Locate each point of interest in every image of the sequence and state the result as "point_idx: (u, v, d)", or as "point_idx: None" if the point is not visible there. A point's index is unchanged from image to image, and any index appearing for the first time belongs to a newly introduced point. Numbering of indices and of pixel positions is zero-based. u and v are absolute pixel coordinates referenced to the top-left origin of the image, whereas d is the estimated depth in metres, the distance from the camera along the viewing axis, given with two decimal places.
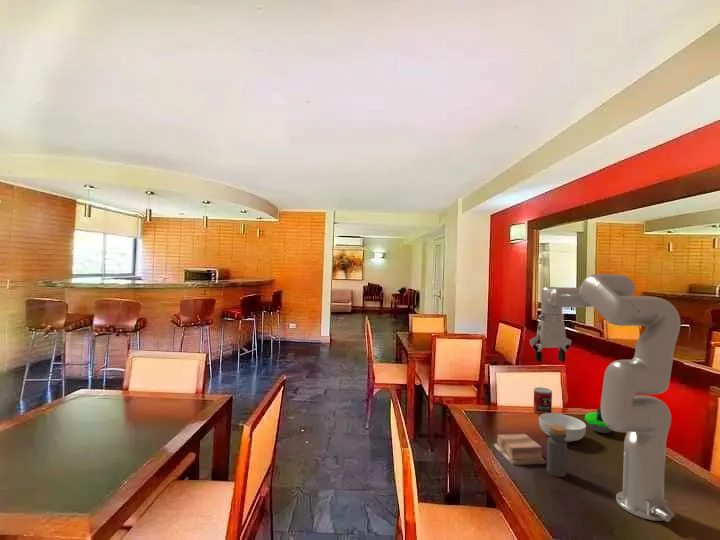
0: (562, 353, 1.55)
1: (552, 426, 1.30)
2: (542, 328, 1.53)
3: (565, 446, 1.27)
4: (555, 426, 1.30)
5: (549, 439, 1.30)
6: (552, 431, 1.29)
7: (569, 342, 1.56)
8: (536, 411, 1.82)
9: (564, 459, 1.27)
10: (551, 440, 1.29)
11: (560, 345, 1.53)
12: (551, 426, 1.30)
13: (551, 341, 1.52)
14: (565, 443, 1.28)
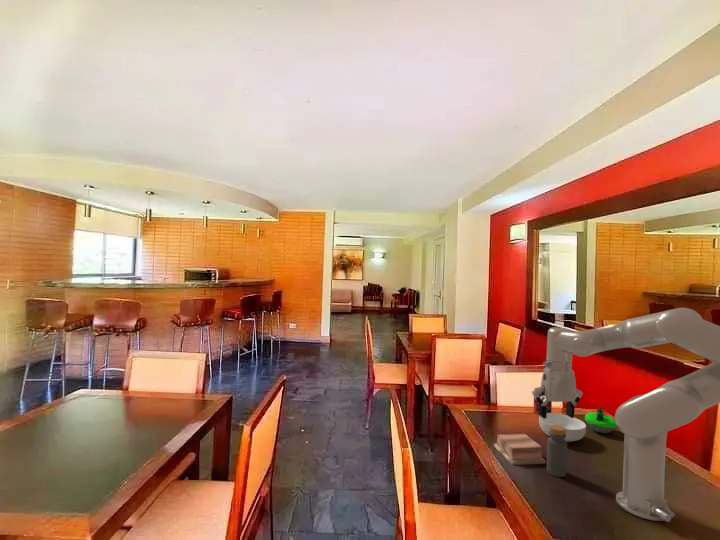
0: (571, 407, 1.29)
1: (552, 426, 1.30)
2: (548, 378, 1.27)
3: (565, 446, 1.27)
4: (555, 426, 1.30)
5: (549, 439, 1.30)
6: (552, 431, 1.29)
7: (579, 394, 1.30)
8: (536, 411, 1.82)
9: (564, 459, 1.27)
10: (551, 440, 1.29)
11: (569, 399, 1.27)
12: (551, 426, 1.30)
13: (558, 394, 1.27)
14: (565, 443, 1.28)
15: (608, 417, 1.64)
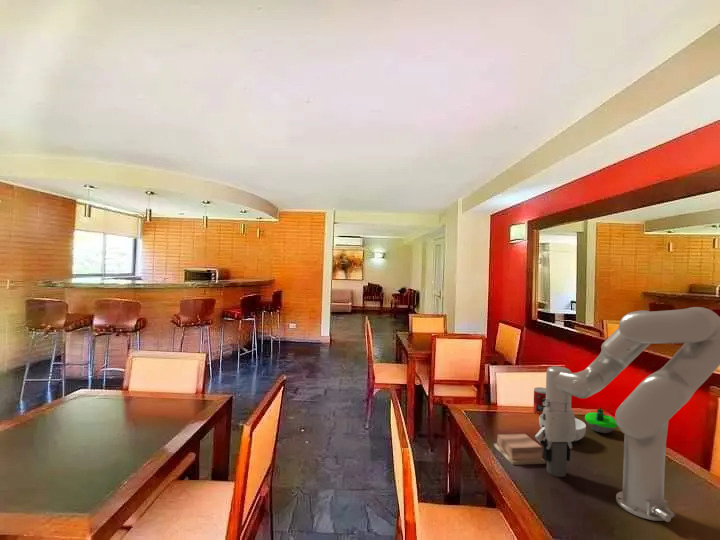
0: (567, 450, 1.29)
1: None
2: (547, 419, 1.27)
3: (565, 446, 1.27)
4: None
5: None
6: None
7: (576, 437, 1.30)
8: (536, 411, 1.82)
9: (564, 459, 1.27)
10: None
11: (569, 439, 1.27)
12: None
13: (558, 435, 1.27)
14: (565, 443, 1.28)
15: (608, 417, 1.64)
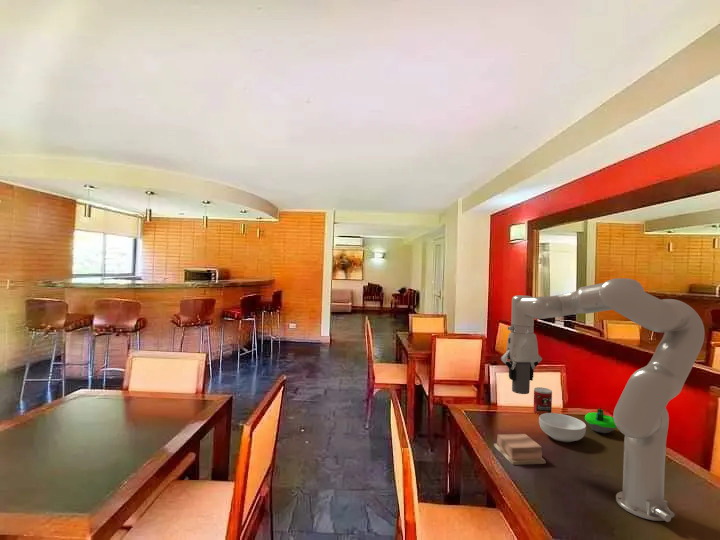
0: (530, 371, 1.41)
1: None
2: (512, 341, 1.39)
3: (528, 366, 1.39)
4: None
5: None
6: None
7: (539, 359, 1.42)
8: (536, 411, 1.82)
9: (527, 378, 1.39)
10: None
11: (531, 360, 1.39)
12: None
13: (522, 355, 1.39)
14: (528, 363, 1.40)
15: (608, 417, 1.64)
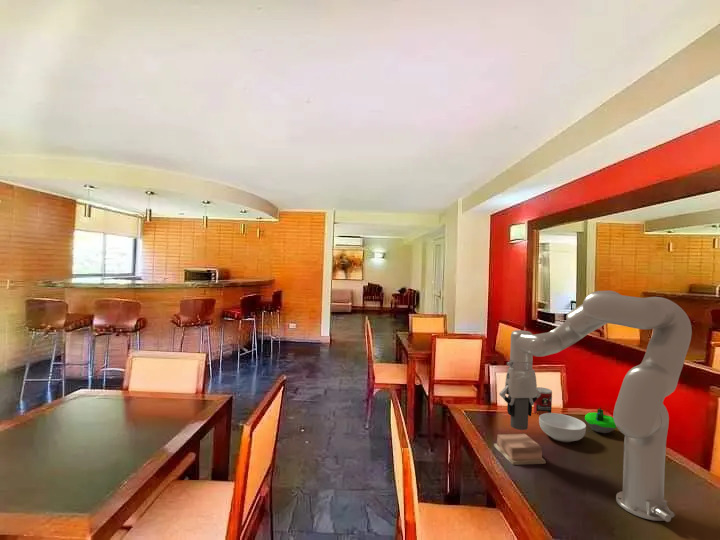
0: None
1: None
2: (511, 377, 1.39)
3: (526, 402, 1.39)
4: None
5: None
6: None
7: (537, 395, 1.42)
8: (536, 411, 1.82)
9: (525, 414, 1.39)
10: None
11: (530, 396, 1.39)
12: None
13: (520, 391, 1.39)
14: (527, 399, 1.40)
15: (608, 417, 1.64)
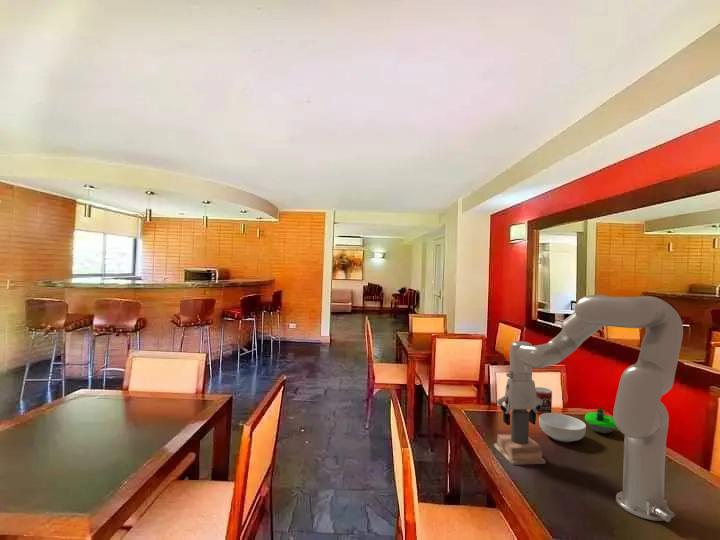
0: (532, 415, 1.41)
1: None
2: (510, 388, 1.39)
3: (527, 416, 1.39)
4: None
5: (513, 410, 1.42)
6: None
7: (540, 402, 1.42)
8: None
9: (526, 428, 1.39)
10: (515, 411, 1.41)
11: (530, 407, 1.39)
12: None
13: (520, 403, 1.39)
14: (527, 413, 1.40)
15: (608, 417, 1.64)
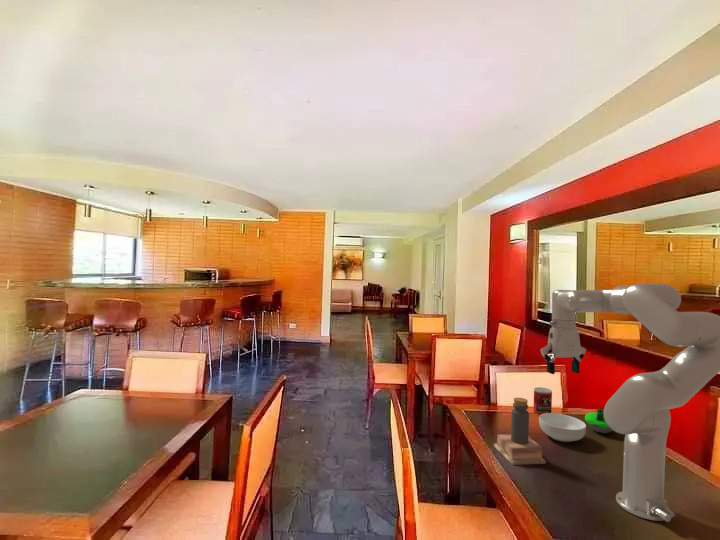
0: (576, 363, 1.39)
1: (516, 398, 1.42)
2: (554, 336, 1.37)
3: (527, 416, 1.39)
4: (519, 398, 1.42)
5: (513, 410, 1.42)
6: (515, 402, 1.41)
7: (583, 351, 1.40)
8: (536, 411, 1.82)
9: (526, 428, 1.39)
10: (514, 411, 1.41)
11: (574, 355, 1.37)
12: (515, 398, 1.42)
13: (565, 350, 1.36)
14: (527, 413, 1.40)
15: None
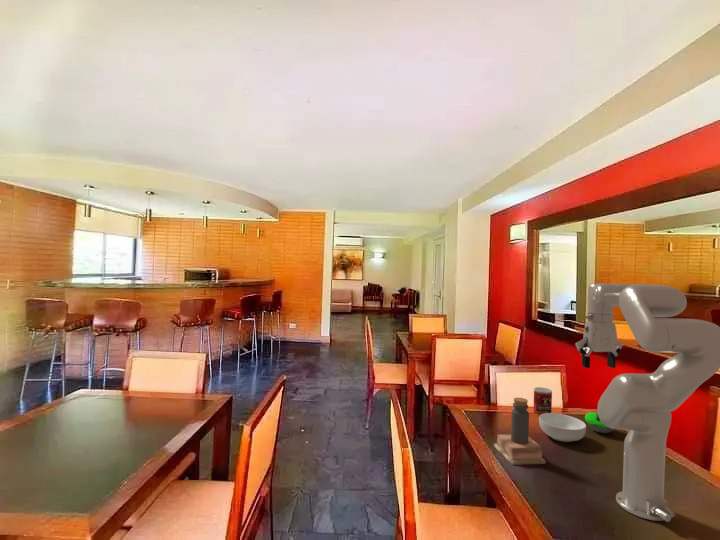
0: (612, 358, 1.37)
1: (516, 398, 1.42)
2: (591, 330, 1.35)
3: (527, 416, 1.39)
4: (519, 398, 1.42)
5: (513, 410, 1.42)
6: (515, 403, 1.41)
7: (620, 345, 1.38)
8: (536, 411, 1.82)
9: (526, 428, 1.39)
10: (514, 411, 1.41)
11: (611, 349, 1.35)
12: (515, 398, 1.42)
13: (601, 344, 1.35)
14: (527, 413, 1.40)
15: None
